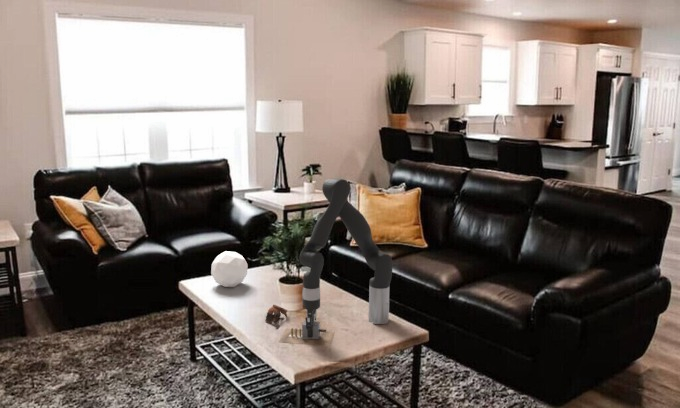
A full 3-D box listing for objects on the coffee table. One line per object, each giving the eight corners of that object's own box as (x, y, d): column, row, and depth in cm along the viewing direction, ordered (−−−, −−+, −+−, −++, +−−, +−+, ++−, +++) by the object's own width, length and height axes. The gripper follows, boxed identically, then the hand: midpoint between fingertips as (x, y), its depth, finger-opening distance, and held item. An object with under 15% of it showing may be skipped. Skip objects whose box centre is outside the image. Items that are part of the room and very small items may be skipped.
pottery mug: (262, 318, 271) (270, 302, 272) (281, 326, 272) (288, 310, 273) (265, 322, 259) (273, 305, 260) (284, 330, 261) (292, 313, 262)
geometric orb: (239, 298, 313) (252, 276, 301) (203, 288, 307) (215, 265, 295) (242, 272, 327) (254, 249, 316) (208, 262, 321) (219, 239, 309)
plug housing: (326, 335, 248) (327, 322, 246) (325, 339, 243) (325, 326, 242) (304, 333, 249) (304, 320, 248) (302, 338, 244) (302, 324, 243)
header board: (334, 335, 253) (334, 324, 252) (330, 349, 239) (330, 338, 238) (285, 331, 255) (285, 321, 254) (278, 345, 242) (278, 334, 241)
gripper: (317, 303, 235) (317, 342, 239) (322, 291, 249) (322, 328, 253) (299, 302, 236) (299, 341, 240) (305, 290, 250) (305, 327, 253)
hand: (311, 334), depth 246 cm, fingers closed on plug housing, 4 cm apart
